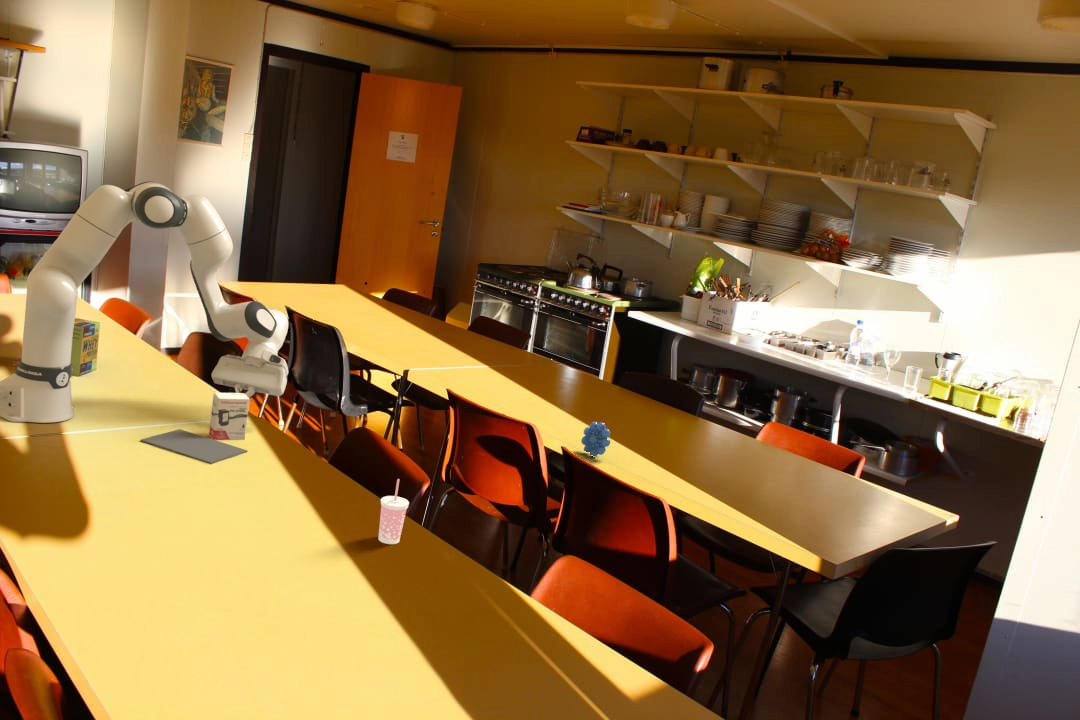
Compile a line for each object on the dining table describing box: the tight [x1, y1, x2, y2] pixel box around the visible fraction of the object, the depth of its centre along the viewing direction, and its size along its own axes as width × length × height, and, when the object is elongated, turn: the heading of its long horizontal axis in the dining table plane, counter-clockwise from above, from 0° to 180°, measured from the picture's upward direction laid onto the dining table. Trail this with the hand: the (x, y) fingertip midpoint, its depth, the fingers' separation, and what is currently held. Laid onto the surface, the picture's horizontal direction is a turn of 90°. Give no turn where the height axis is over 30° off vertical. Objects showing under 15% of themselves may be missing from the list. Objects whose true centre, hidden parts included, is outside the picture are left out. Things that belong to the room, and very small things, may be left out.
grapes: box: [580, 421, 611, 457], centre depth 285 cm, size 12×7×12 cm, turn 42°
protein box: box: [70, 317, 101, 377], centre depth 274 cm, size 10×15×16 cm
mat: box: [139, 428, 249, 465], centre depth 230 cm, size 22×14×1 cm, turn 70°
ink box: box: [208, 392, 251, 441], centre depth 240 cm, size 8×5×12 cm, turn 123°
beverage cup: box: [378, 478, 410, 545], centre depth 194 cm, size 6×6×14 cm
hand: (239, 400), depth 246 cm, fingers closed
